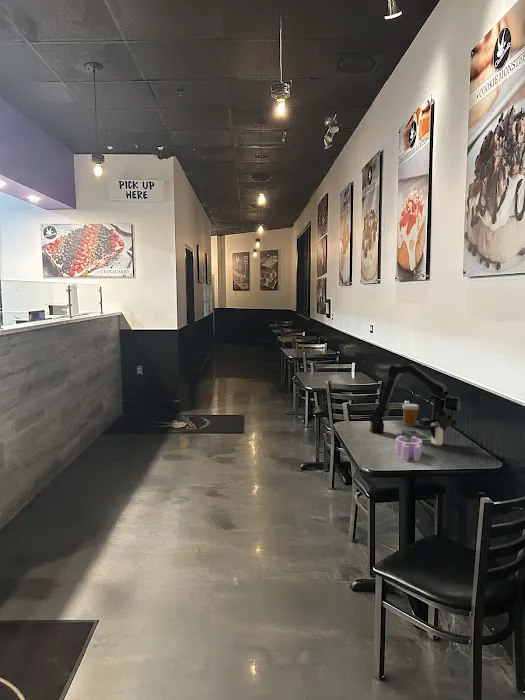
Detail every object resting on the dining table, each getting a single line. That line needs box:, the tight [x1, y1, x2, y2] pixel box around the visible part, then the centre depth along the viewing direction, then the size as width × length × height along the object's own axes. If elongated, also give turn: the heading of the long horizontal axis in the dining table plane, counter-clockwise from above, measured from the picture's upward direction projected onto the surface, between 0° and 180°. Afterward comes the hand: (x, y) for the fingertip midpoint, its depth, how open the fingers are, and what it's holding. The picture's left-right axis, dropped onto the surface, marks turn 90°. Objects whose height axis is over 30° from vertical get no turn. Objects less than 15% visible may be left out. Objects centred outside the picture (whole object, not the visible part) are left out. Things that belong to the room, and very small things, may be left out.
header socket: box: [401, 429, 427, 439], centre depth 289 cm, size 9×10×2 cm
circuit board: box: [394, 432, 432, 442], centre depth 289 cm, size 16×12×1 cm
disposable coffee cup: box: [401, 402, 420, 427], centre depth 316 cm, size 10×10×12 cm
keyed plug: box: [430, 423, 444, 446], centre depth 278 cm, size 4×6×10 cm, turn 12°
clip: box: [394, 435, 423, 462], centre depth 258 cm, size 20×12×7 cm, turn 171°
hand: (437, 437), depth 279 cm, fingers closed on keyed plug, 4 cm apart
